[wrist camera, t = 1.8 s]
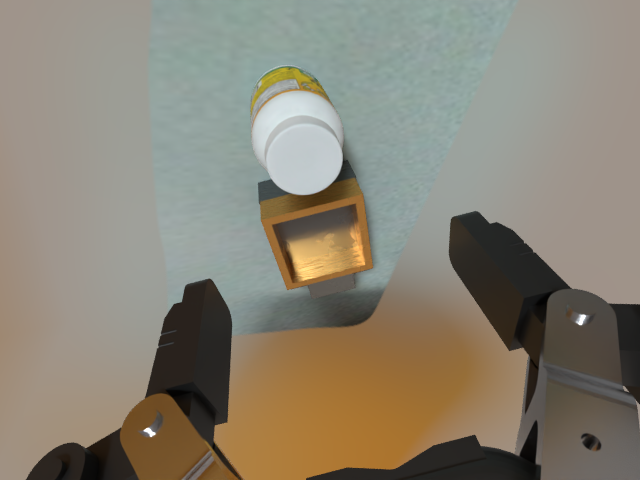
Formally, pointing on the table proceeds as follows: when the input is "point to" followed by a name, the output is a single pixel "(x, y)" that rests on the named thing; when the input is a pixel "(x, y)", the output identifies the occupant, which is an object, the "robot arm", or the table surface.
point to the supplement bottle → (296, 130)
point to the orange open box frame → (318, 234)
